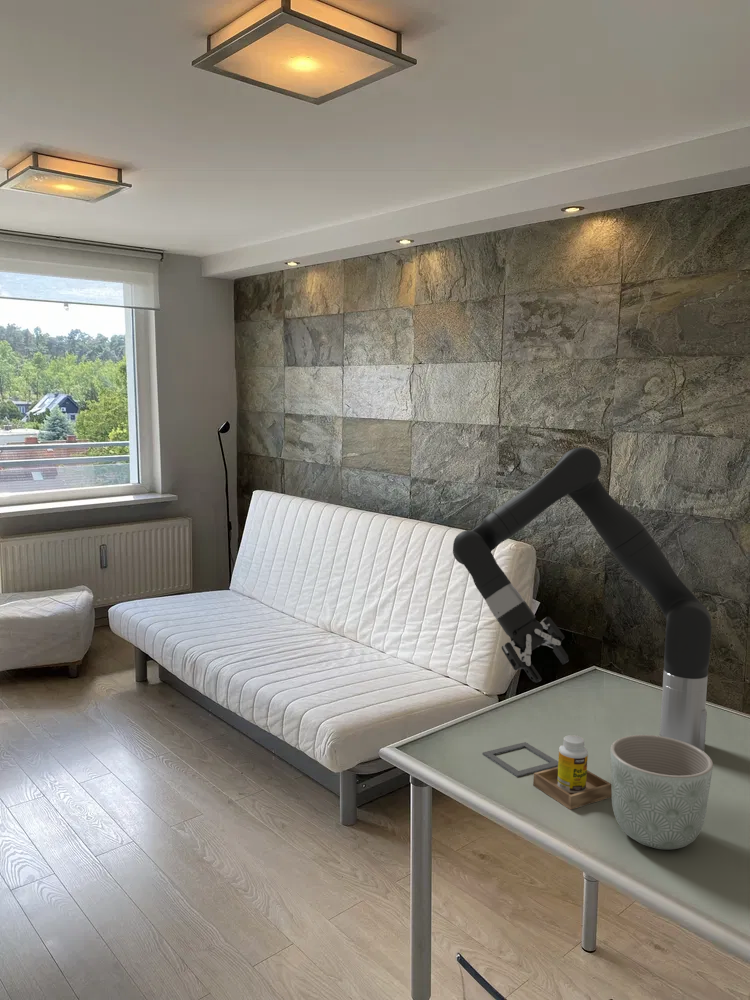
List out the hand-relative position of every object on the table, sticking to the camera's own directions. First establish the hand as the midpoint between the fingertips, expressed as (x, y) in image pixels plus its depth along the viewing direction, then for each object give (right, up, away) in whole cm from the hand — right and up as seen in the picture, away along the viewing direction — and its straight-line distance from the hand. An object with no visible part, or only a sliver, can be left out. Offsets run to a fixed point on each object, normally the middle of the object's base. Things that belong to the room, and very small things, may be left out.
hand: (552, 671), depth 166 cm
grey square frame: (-7, -19, -1) cm, 20 cm away
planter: (+11, -23, -30) cm, 39 cm away
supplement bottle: (0, -20, -14) cm, 25 cm away
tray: (0, -21, -14) cm, 25 cm away
